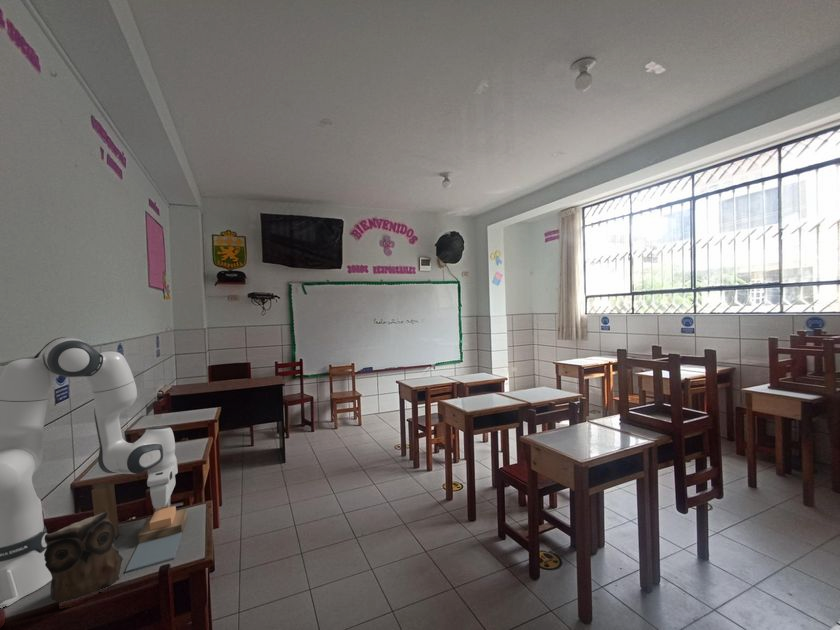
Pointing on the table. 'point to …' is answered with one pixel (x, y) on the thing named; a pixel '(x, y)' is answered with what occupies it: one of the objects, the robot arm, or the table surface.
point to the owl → (82, 558)
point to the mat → (154, 552)
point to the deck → (164, 531)
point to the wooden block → (105, 502)
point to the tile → (163, 518)
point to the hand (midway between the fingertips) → (166, 509)
